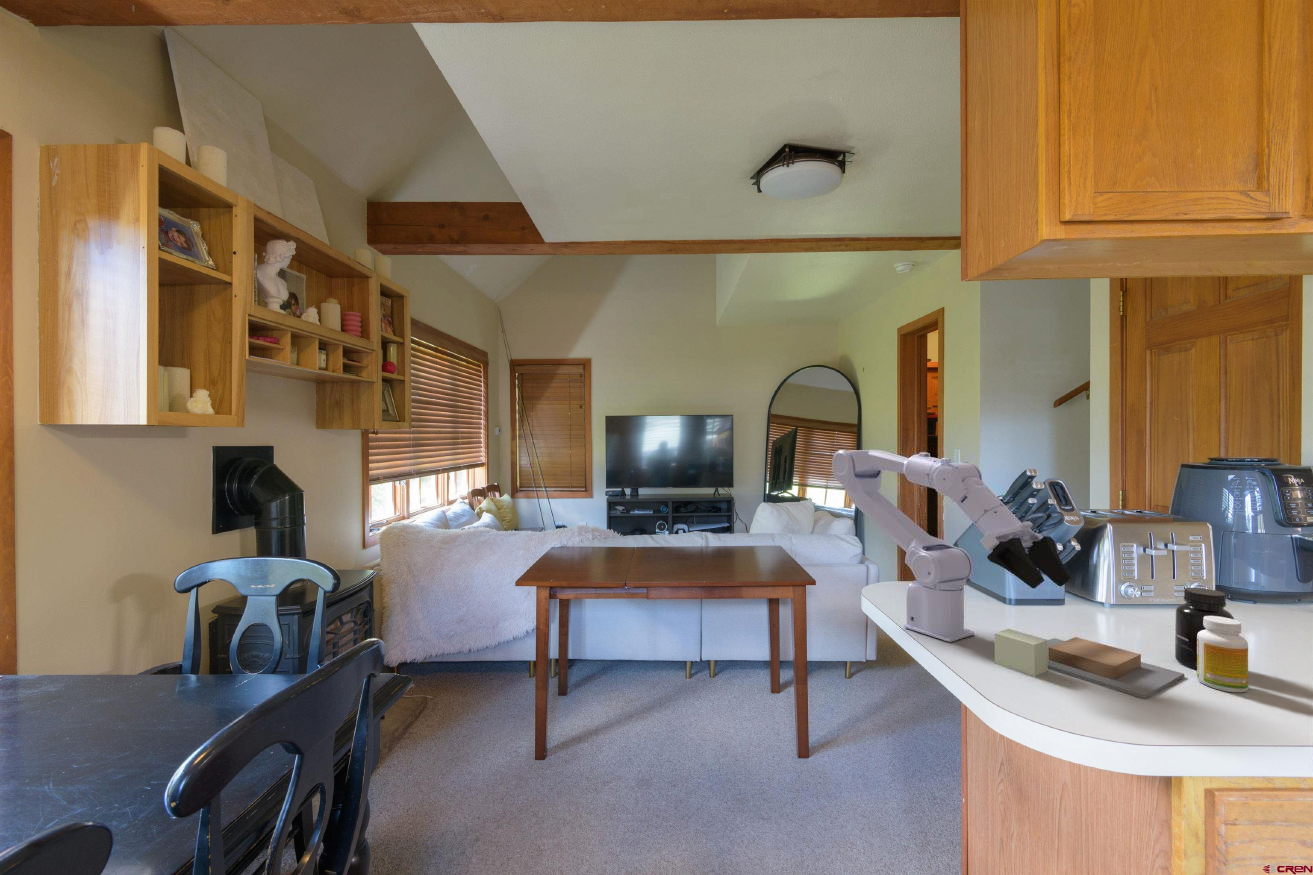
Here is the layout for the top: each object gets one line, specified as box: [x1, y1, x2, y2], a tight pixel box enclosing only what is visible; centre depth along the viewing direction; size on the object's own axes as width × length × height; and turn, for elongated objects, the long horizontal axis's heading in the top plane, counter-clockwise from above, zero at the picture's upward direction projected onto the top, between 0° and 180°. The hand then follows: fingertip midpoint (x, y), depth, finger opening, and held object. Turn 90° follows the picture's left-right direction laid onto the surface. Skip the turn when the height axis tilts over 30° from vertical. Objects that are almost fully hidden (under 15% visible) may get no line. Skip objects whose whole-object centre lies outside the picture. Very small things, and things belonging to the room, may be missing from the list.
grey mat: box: [1047, 637, 1185, 700], centre depth 92 cm, size 18×14×1 cm
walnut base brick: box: [1049, 636, 1142, 680], centre depth 92 cm, size 9×9×2 cm
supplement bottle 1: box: [1174, 587, 1235, 671], centre depth 92 cm, size 7×7×12 cm
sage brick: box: [994, 628, 1049, 677], centre depth 92 cm, size 6×4×5 cm, turn 31°
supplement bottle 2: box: [1196, 616, 1249, 693], centre depth 85 cm, size 5×5×10 cm
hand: (1052, 583), depth 89 cm, fingers open, 7 cm apart
